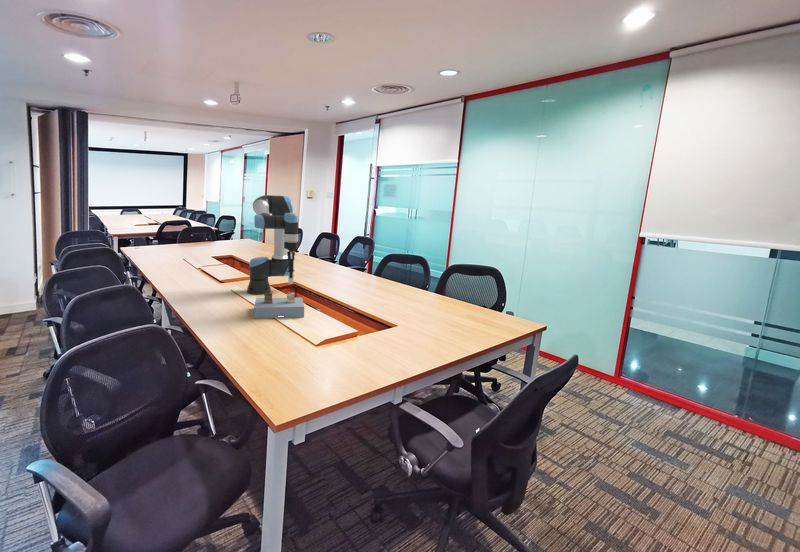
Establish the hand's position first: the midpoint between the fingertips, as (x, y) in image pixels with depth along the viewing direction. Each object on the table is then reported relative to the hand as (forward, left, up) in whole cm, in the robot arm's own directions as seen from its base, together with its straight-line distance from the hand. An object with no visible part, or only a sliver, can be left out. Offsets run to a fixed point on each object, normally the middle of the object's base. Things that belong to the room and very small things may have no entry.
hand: (290, 283), depth 223 cm
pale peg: (0, 0, -12) cm, 12 cm away
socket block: (0, -6, -17) cm, 18 cm away
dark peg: (0, -12, -12) cm, 17 cm away
